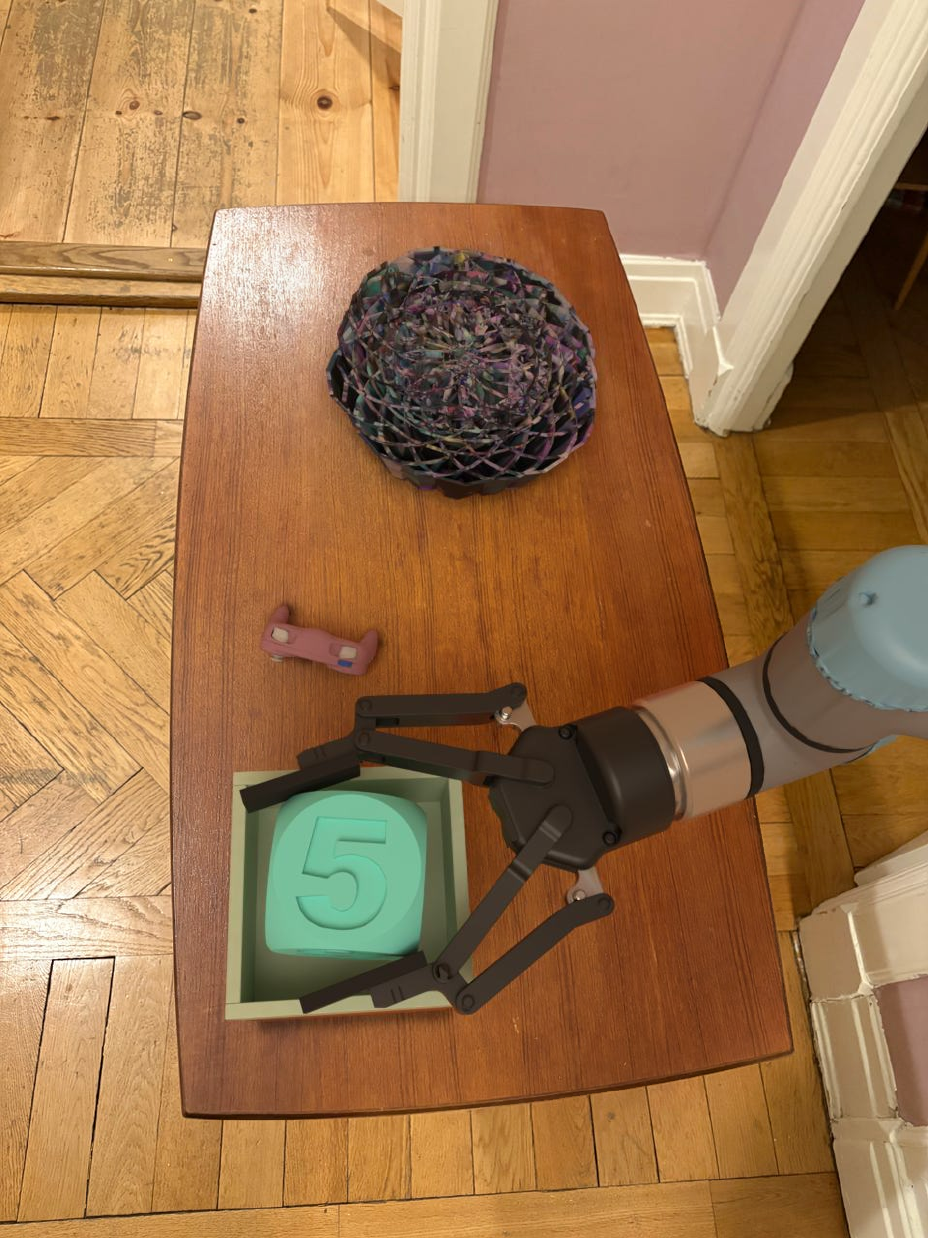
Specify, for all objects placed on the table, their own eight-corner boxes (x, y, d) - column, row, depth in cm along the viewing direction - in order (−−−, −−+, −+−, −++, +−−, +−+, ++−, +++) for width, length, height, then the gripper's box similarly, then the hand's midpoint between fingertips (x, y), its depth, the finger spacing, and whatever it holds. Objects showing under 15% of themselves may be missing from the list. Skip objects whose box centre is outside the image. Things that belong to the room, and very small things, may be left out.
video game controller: (266, 651, 86) (247, 658, 79) (278, 602, 86) (260, 605, 79) (371, 679, 86) (361, 688, 79) (384, 630, 86) (375, 635, 79)
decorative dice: (421, 823, 58) (429, 795, 51) (413, 962, 55) (420, 953, 47) (289, 816, 57) (278, 785, 50) (273, 955, 54) (259, 945, 47)
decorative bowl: (324, 526, 92) (319, 480, 83) (334, 289, 101) (331, 222, 91) (584, 534, 94) (608, 490, 85) (571, 302, 103) (592, 238, 94)
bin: (462, 1006, 60) (475, 1003, 52) (242, 1020, 58) (224, 1020, 51) (450, 792, 65) (460, 763, 58) (248, 800, 63) (233, 771, 56)
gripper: (713, 966, 54) (340, 1123, 49) (560, 617, 62) (224, 723, 57) (763, 957, 47) (335, 1139, 42) (584, 566, 55) (205, 681, 50)
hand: (271, 900), depth 50 cm, fingers closed on decorative dice, 10 cm apart
